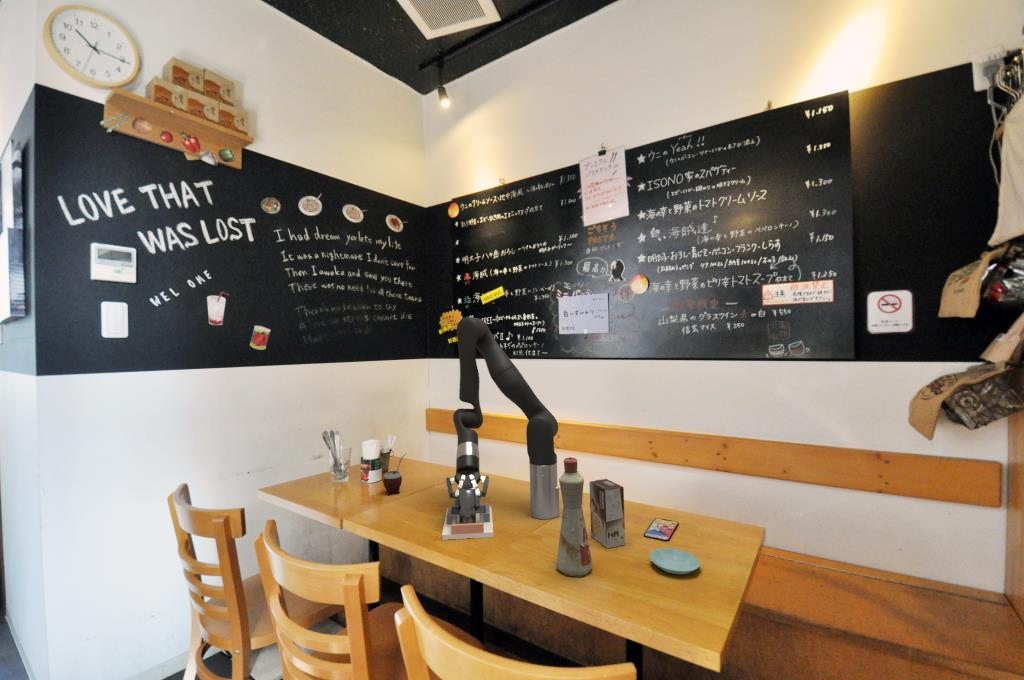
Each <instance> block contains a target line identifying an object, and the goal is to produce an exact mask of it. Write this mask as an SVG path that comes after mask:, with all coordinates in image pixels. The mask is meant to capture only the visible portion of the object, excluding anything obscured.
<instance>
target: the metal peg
mask: <svg viewBox="0 0 1024 680" xmlns="http://www.w3.org/2000/svg"><path fill="white" fill-rule="evenodd" d="M459 521H460V524H467V523H476V490H475V488H474V487H469V486H468V487H462V488H460V489H459Z"/></svg>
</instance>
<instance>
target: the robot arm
mask: <svg viewBox="0 0 1024 680" xmlns="http://www.w3.org/2000/svg"><path fill="white" fill-rule="evenodd" d="M456 339H457V340H456V341H457V347H458V358H459V390H458V391H459V396H458V398H459V400H460V401H461V402H463V403H467V404H470V405H471V406H472V407H473V408H457V409H456V410H455V411H454V413H453V417H452V419H453V420H452V421H453V425H454V427H455V431H456V435H457V436H456V437H457V449H456V458H455V459H456V461H455V462H456V463H455V475H454V476H453V477H451V478H450V477H446V478H445V480H446V482H445V483H446V487H447V491H448V497H449V498H450V499H454V506H455V509H457V511H459V489H460V488H462V487H468V486H469V487H474V488H475V490H476V510H478V508H480V504H481V498H483V497H484V498H485V497H487V492H488V486H489V483H490V476H489V475H485V476H482V475H481V473H480V449H479V434H478V432H477V431H476V430H477V429H480V428H481V427H482V426H483V425H484V424H483V423H484V417H483V413H482V408H481V404H480V373H479V367H478V364H477V358H476V357H477V355H476V350H477V351H478V352H479V353H480V355H482V357H483V359H484V361H485V364H486V368H487V370H488V374H489V375H490V377H491V379H492V381H493V382H494V384H495V386H496V387H497V388H498V389H499V391H500V393H502V394H503V395H504V396H505V397H506V398H507V399H508V400H509V401H511V402H512V403H513V404H515V405H516V406H517V407H518V408H519V409H520V410H521V412H522V413H523V415H525V417H526V419H527V421H528V422H527V424H526V429H525V430H526V431H525V433H526V449H527V450H526V451H527V452H526V453H527V455H528V458H529V459H528V460H529V461H528V462H529V464H528V466H529V497H530V498H529V499H530V500H529V503H530V504H529V505H530V506H529V507H530V509H529V510H530V516H531V517H533V518H535V519H538V520H549V519H554V518H557V517H559V518H560V487H559V484H558V455H557V453H556V452H555V440H554V439H555V438H554V437H555V436H556V435H557V434H558V432H559V424H558V420H557V419H556V417H555V416H554V415H553V414H552V413H551V411H550V410H548V408H547V407H546V406H545V405H544V404H543V403H542V402H541V400H540V399H539V398H538V396H537V395H536V393H535V392H534V390H533V389H532V387H531V386H530V384H529V383H528V382H527V380H526V379H525V377H524V376H523V375H522V374H521V372H520V371H519V369H518V368H517V367H516V365H515V363H513V362H512V360H511V359H510V358H509V356H508V355H507V353H506V352H505V351H504V350H503V348H502V347H501V346H500V345H499V344H498V343H499V342H497V340H496V339H495V336H494V335H493V333H492V332H491V329H490V328H489V326H488V325H487V323H486V322H485V321H484V320H483V319H481V318H478V317H472V316H465V317H463V318H462V319H460V320H459V321H458V323H457V326H456ZM474 429H475V430H474ZM480 482H481V483H482V484H483V485H482V489H481V491H480V489H479V486H478V484H479V483H480ZM454 483H456V485H457V488H456V491H455V492H454V491H453V485H454Z"/></svg>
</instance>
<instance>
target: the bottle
mask: <svg viewBox="0 0 1024 680" xmlns="http://www.w3.org/2000/svg"><path fill="white" fill-rule="evenodd" d="M563 466H564V467H563V468H564V472H563V473H562V474H561V476H560V477H559V478H558V481H559V486H560V487H559V490H560V494H561V499H562V505H563V506H562V513H561V524H560V531H559V540H558V549H557V556H556V561H555V566H556V568H557V569H558V570H559V571H560V572H562V573H563V574H565V576H572V577H584V576H586V575H588V573H590V571H591V569H592V567H593V560H592V554H591V549H590V544H589V543H590V542H589V538H588V532H587V526H586V519H585V515H584V511H583V510H584V509H583V506H582V505H583V498H584V496H583V494H584V484H585V479H584V477H583V476H582V475H581V474H580V473H579V471H578V459H577V458H576V457H572V456H569V457H565V458H564V459H563Z"/></svg>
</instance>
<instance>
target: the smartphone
mask: <svg viewBox="0 0 1024 680" xmlns="http://www.w3.org/2000/svg"><path fill="white" fill-rule="evenodd" d="M679 526H680V525H679V522H678V521H677V520H672V519H666V518H659V517H656V518H654V519H653V521H652V522H651V523H650V524H649V526H648V528H647V529H646V530H645V531H644V533H643V537H644V538H646V539H650V540H657V541H660V542H661V541H662V542H668V543H669V542H670V541H671V539H672V537H673V536H674V534H675V532H676V530H677V529H678V527H679Z"/></svg>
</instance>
